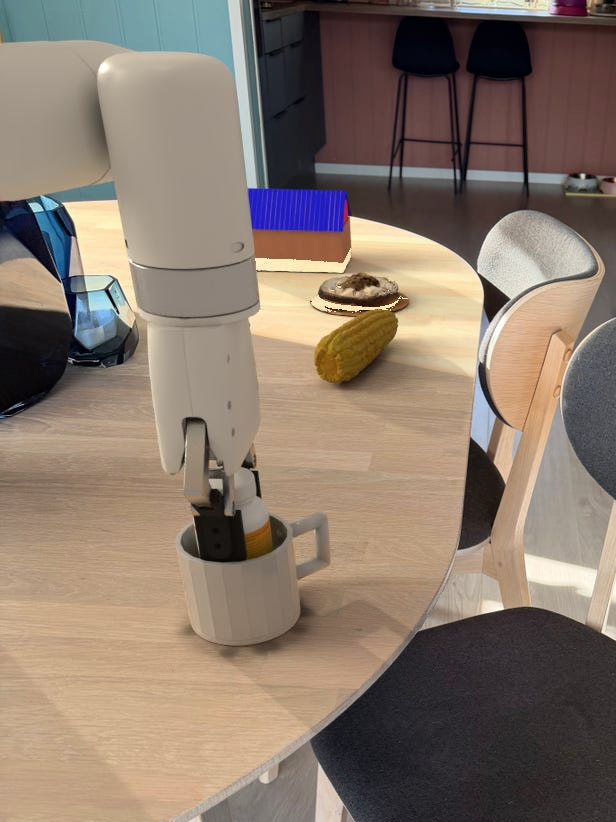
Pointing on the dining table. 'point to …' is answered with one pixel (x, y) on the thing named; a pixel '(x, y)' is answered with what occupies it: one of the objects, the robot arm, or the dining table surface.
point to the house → (300, 224)
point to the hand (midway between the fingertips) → (233, 537)
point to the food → (354, 345)
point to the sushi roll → (361, 293)
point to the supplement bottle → (249, 513)
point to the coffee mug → (250, 584)
